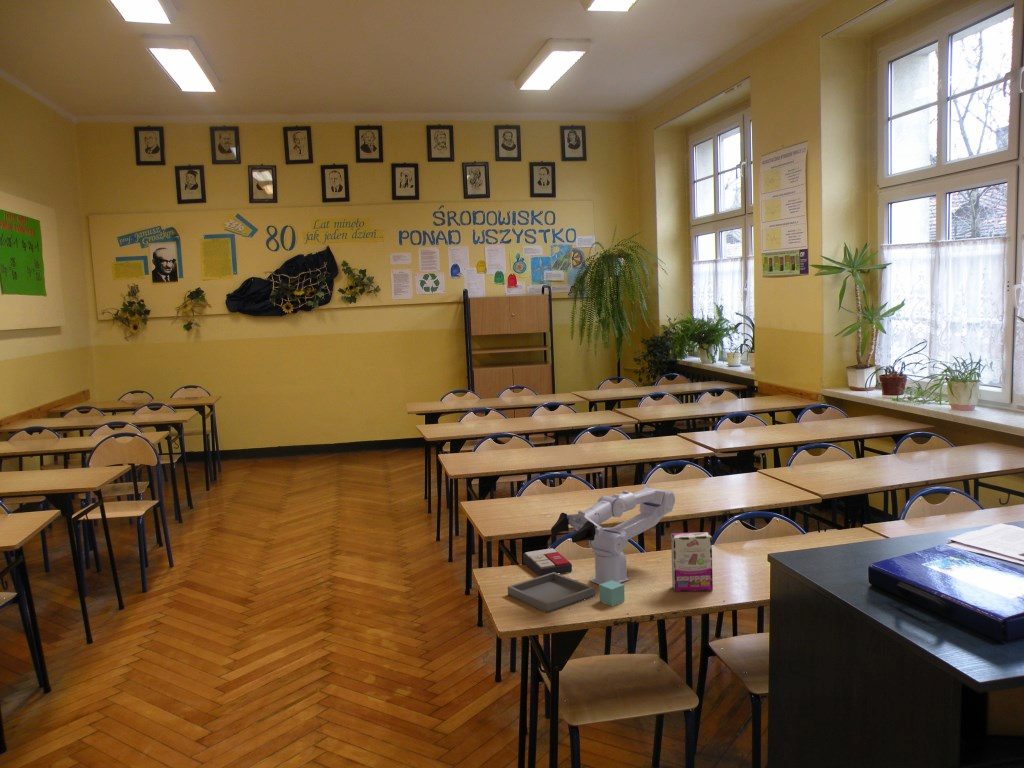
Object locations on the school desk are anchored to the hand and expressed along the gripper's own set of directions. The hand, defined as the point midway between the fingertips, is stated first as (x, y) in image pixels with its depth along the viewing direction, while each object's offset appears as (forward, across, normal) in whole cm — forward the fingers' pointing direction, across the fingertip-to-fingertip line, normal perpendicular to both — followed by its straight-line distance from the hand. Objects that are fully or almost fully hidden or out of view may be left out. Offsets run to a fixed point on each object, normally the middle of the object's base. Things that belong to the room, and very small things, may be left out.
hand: (562, 535), depth 218 cm
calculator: (-14, -20, +25) cm, 35 cm away
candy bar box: (-28, +25, +22) cm, 43 cm away
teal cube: (-5, +13, +19) cm, 24 cm away
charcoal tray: (+3, -3, +20) cm, 20 cm away
